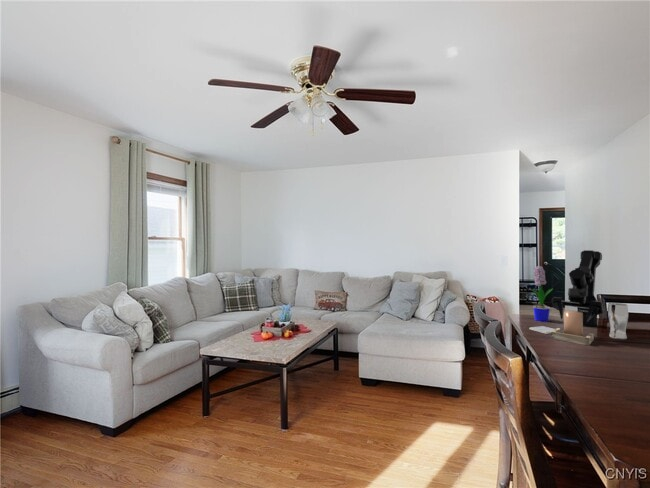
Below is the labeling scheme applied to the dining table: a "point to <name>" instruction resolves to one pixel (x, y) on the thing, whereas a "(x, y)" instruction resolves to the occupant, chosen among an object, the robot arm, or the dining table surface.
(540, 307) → the hyacinth
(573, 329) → the peach tapered rounded piece
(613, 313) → the beer glass
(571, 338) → the frame
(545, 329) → the tile
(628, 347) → the dining table surface
